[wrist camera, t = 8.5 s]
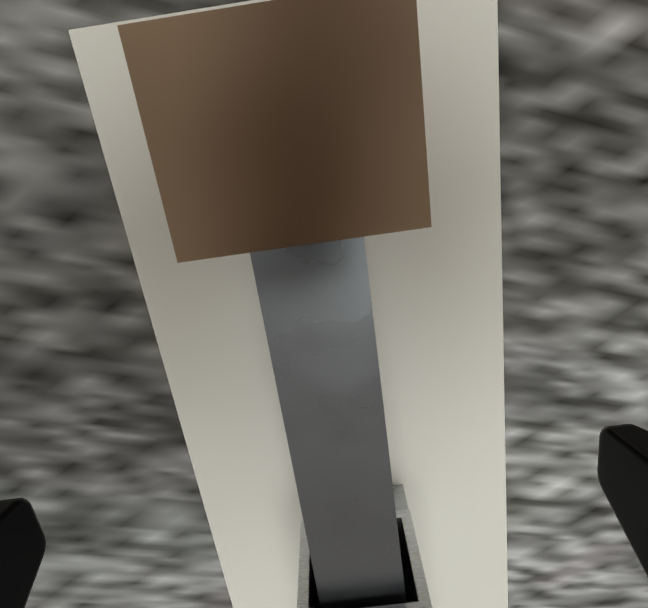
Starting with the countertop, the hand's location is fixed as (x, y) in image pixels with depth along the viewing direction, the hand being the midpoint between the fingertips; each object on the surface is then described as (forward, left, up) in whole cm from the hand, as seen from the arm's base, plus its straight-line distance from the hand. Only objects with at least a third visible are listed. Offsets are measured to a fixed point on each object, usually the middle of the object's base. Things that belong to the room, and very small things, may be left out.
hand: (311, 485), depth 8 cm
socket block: (0, +5, -13) cm, 14 cm away
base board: (0, -7, -13) cm, 15 cm away
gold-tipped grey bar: (0, -3, -9) cm, 10 cm away
